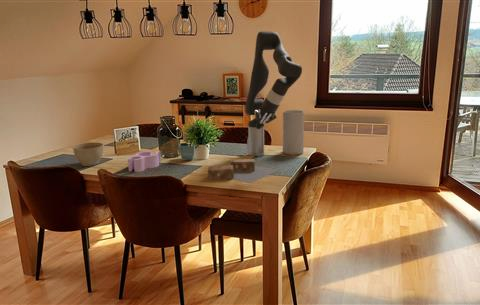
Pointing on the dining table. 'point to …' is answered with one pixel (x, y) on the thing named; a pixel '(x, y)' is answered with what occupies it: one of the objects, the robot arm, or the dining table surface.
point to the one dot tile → (221, 172)
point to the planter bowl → (88, 153)
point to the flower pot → (186, 151)
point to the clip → (144, 161)
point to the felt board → (253, 174)
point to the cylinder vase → (293, 132)
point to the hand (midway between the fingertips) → (257, 128)
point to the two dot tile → (243, 164)
